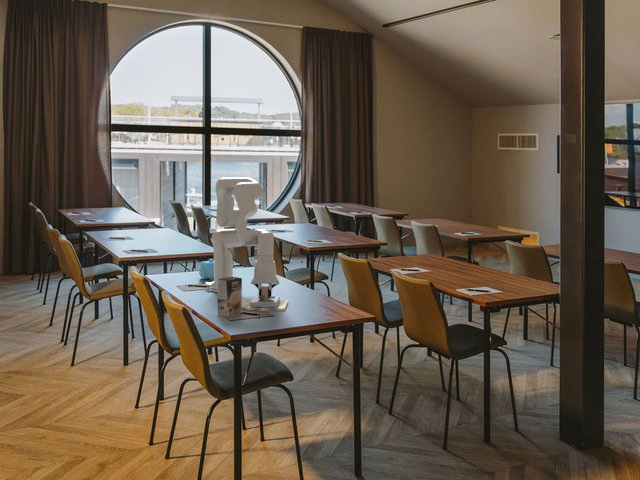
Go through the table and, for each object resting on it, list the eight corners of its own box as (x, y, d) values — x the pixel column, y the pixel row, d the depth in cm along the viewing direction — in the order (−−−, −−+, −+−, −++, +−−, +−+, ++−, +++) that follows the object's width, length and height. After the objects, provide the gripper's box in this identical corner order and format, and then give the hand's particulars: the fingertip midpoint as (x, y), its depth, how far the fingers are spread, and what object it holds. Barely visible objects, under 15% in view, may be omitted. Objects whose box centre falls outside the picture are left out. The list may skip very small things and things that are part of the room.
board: (236, 310, 317) (236, 298, 316) (241, 302, 335) (241, 290, 334) (284, 311, 316) (284, 299, 316) (287, 302, 334) (288, 291, 334)
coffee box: (228, 317, 304) (228, 280, 302) (217, 315, 307) (217, 279, 305) (242, 313, 311) (242, 277, 309) (231, 311, 315) (231, 276, 313)
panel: (249, 306, 318) (249, 289, 317) (254, 299, 334) (254, 282, 333) (276, 307, 317) (276, 289, 316) (279, 299, 333) (279, 283, 332)
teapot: (224, 281, 389) (224, 260, 387) (199, 281, 386) (199, 261, 385) (223, 276, 403) (223, 256, 402) (198, 276, 401) (198, 257, 400)
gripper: (246, 259, 320) (246, 299, 322) (282, 260, 319) (282, 299, 321) (248, 256, 327) (248, 295, 329) (283, 257, 326) (283, 296, 329)
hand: (265, 297), depth 325 cm, fingers closed on panel, 3 cm apart
